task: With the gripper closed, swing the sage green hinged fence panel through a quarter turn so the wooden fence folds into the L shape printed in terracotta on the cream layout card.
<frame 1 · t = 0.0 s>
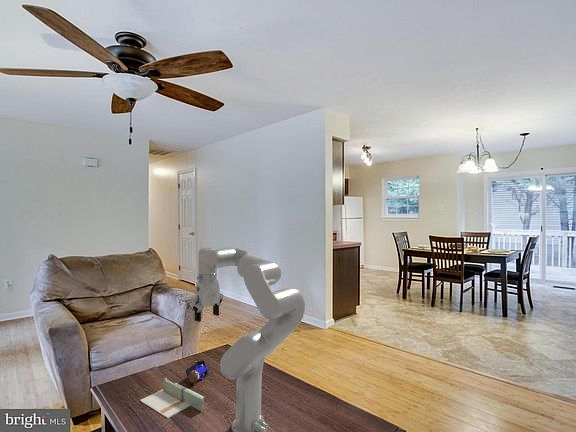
hand: (207, 318, 137), 37 cm above the table, tool pointing down, fingers open, 9 cm apart
character figurine: (198, 379, 159), on the table
hinged fence panel: (192, 399, 137), point 3 cm above the table, hinge at 0.0°
layout card: (172, 399, 142), on the table
fixed fence panel: (173, 395, 145), resting on layout card
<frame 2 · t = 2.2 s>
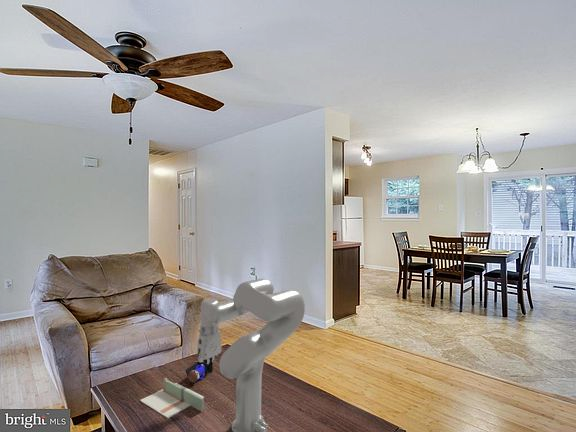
hand: (208, 371, 139), 13 cm above the table, tool pointing down, fingers closed
nothing on the table moved.
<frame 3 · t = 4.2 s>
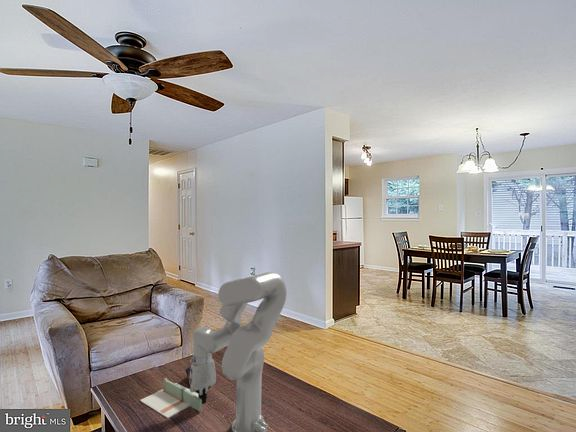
hand: (202, 402, 136), 2 cm above the table, tool pointing down, fingers closed
hinged fence panel: (191, 399, 137), point 3 cm above the table, hinge at 4.5°, touching gripper
everything else where it was.
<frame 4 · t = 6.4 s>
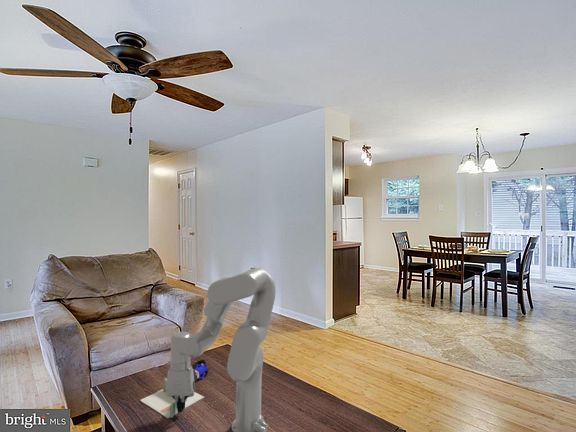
hand: (180, 410, 130), 2 cm above the table, tool pointing down, fingers closed
hinged fence panel: (178, 402, 135), point 3 cm above the table, hinge at 58.1°, touching gripper
everything else where it was.
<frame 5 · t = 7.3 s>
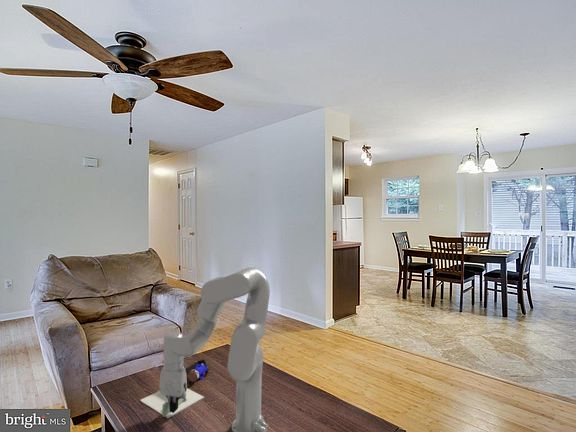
hand: (173, 410, 130), 2 cm above the table, tool pointing down, fingers closed
hinged fence panel: (174, 401, 135), point 3 cm above the table, hinge at 73.6°, touching gripper
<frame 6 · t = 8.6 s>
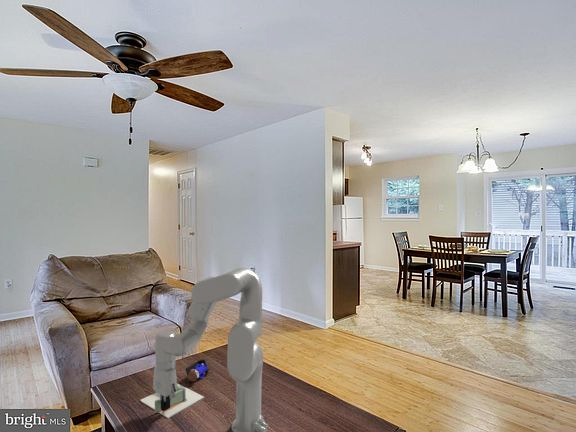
hand: (165, 409, 131), 2 cm above the table, tool pointing down, fingers closed
hinged fence panel: (170, 400, 136), point 3 cm above the table, hinge at 96.3°, touching gripper
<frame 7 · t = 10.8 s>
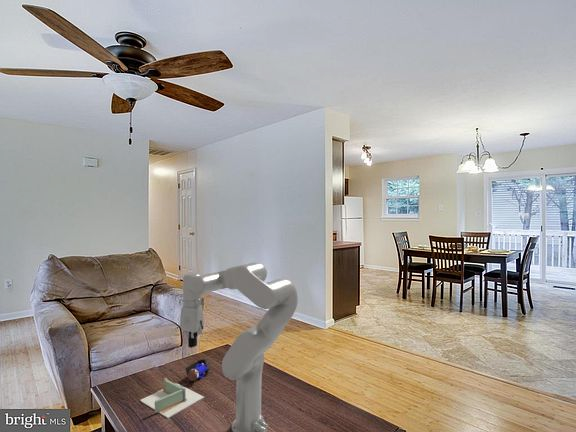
hand: (192, 346, 138), 24 cm above the table, tool pointing down, fingers closed
hinged fence panel: (170, 400, 136), point 3 cm above the table, hinge at 96.3°
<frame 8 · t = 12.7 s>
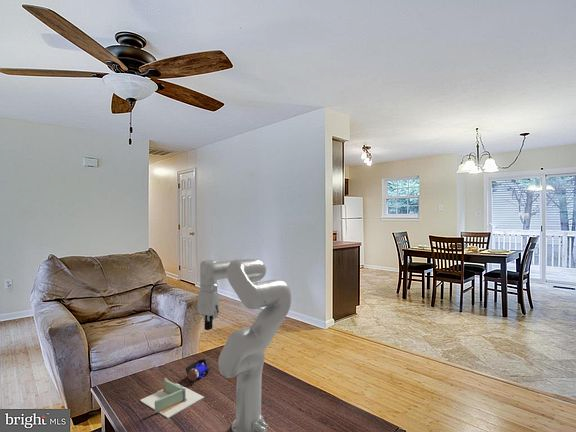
hand: (208, 329, 146), 29 cm above the table, tool pointing down, fingers closed
at the end: hinged fence panel at +96° (first picture: +0°); character figurine moved 1.8 cm from its start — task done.
